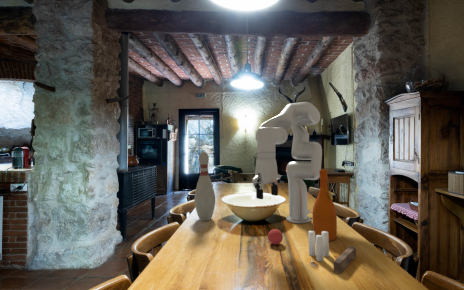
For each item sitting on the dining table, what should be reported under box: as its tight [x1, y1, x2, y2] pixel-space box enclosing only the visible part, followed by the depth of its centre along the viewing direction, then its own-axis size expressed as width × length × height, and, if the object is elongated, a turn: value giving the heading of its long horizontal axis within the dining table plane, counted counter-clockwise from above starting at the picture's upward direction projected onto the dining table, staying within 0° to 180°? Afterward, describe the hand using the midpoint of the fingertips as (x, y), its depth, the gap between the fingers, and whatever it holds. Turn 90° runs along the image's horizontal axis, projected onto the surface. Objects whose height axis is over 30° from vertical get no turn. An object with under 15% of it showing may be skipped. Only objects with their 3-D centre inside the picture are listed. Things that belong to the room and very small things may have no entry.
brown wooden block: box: [333, 245, 357, 275], centre depth 88 cm, size 16×2×4 cm, turn 138°
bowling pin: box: [193, 151, 216, 222], centre depth 144 cm, size 11×12×38 cm
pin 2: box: [321, 231, 330, 257], centre depth 95 cm, size 2×2×8 cm
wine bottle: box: [312, 168, 338, 242], centre depth 112 cm, size 10×10×30 cm
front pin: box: [307, 230, 316, 257], centre depth 96 cm, size 2×2×8 cm
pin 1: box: [315, 235, 324, 262], centre depth 91 cm, size 2×2×8 cm
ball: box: [267, 228, 284, 245], centre depth 107 cm, size 6×6×6 cm
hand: (267, 196), depth 109 cm, fingers open, 9 cm apart
